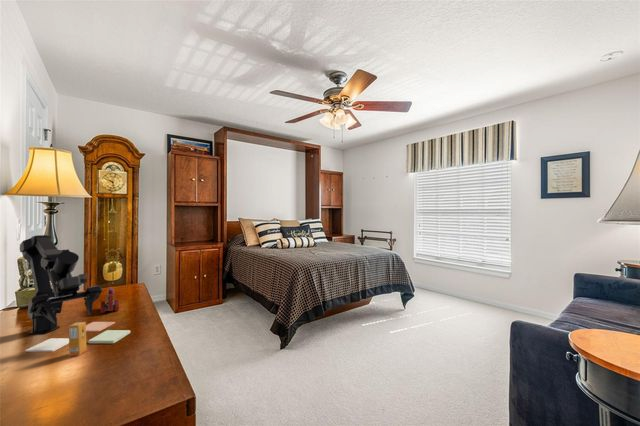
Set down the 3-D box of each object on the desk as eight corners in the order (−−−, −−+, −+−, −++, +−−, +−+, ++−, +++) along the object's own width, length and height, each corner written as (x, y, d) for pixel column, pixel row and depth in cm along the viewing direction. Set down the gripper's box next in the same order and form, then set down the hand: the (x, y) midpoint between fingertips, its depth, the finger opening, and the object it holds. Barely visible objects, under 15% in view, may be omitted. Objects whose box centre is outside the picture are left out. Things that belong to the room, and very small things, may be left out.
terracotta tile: (75, 333, 110) (75, 330, 111) (93, 324, 120) (93, 321, 120) (98, 333, 111) (98, 330, 111) (114, 324, 120) (115, 321, 120)
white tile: (25, 353, 94) (25, 350, 94) (50, 341, 103) (50, 338, 103) (53, 353, 95) (53, 350, 95) (75, 341, 104) (75, 338, 104)
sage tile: (88, 343, 101) (88, 340, 101) (106, 332, 110) (107, 330, 110) (113, 343, 101) (113, 340, 101) (130, 332, 110) (130, 330, 110)
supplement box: (75, 351, 95) (76, 321, 95) (86, 351, 95) (87, 321, 95) (67, 356, 91) (68, 325, 91) (79, 356, 92) (79, 325, 92)
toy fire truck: (100, 315, 128) (100, 292, 128) (100, 308, 138) (100, 287, 138) (119, 312, 132) (119, 290, 132) (118, 305, 142) (118, 285, 142)
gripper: (31, 272, 90) (41, 313, 84) (100, 263, 106) (113, 297, 100) (23, 293, 95) (33, 333, 89) (91, 282, 110) (103, 315, 104)
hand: (73, 318), depth 95 cm, fingers open, 9 cm apart
